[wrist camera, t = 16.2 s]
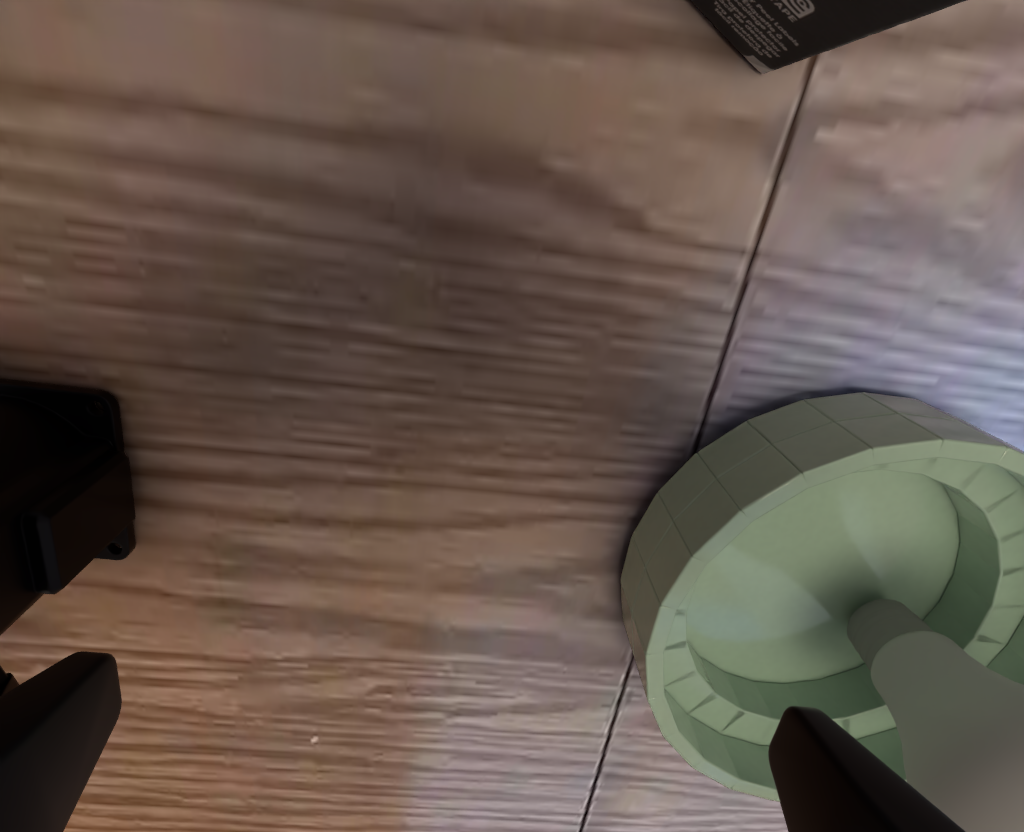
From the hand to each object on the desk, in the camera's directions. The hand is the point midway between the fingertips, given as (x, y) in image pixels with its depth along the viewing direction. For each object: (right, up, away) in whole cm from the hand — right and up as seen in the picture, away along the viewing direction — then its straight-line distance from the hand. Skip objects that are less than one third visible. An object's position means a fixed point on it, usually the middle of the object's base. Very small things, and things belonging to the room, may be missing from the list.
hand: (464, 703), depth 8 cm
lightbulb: (+15, -4, +16) cm, 22 cm away
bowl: (+12, -2, +16) cm, 20 cm away
